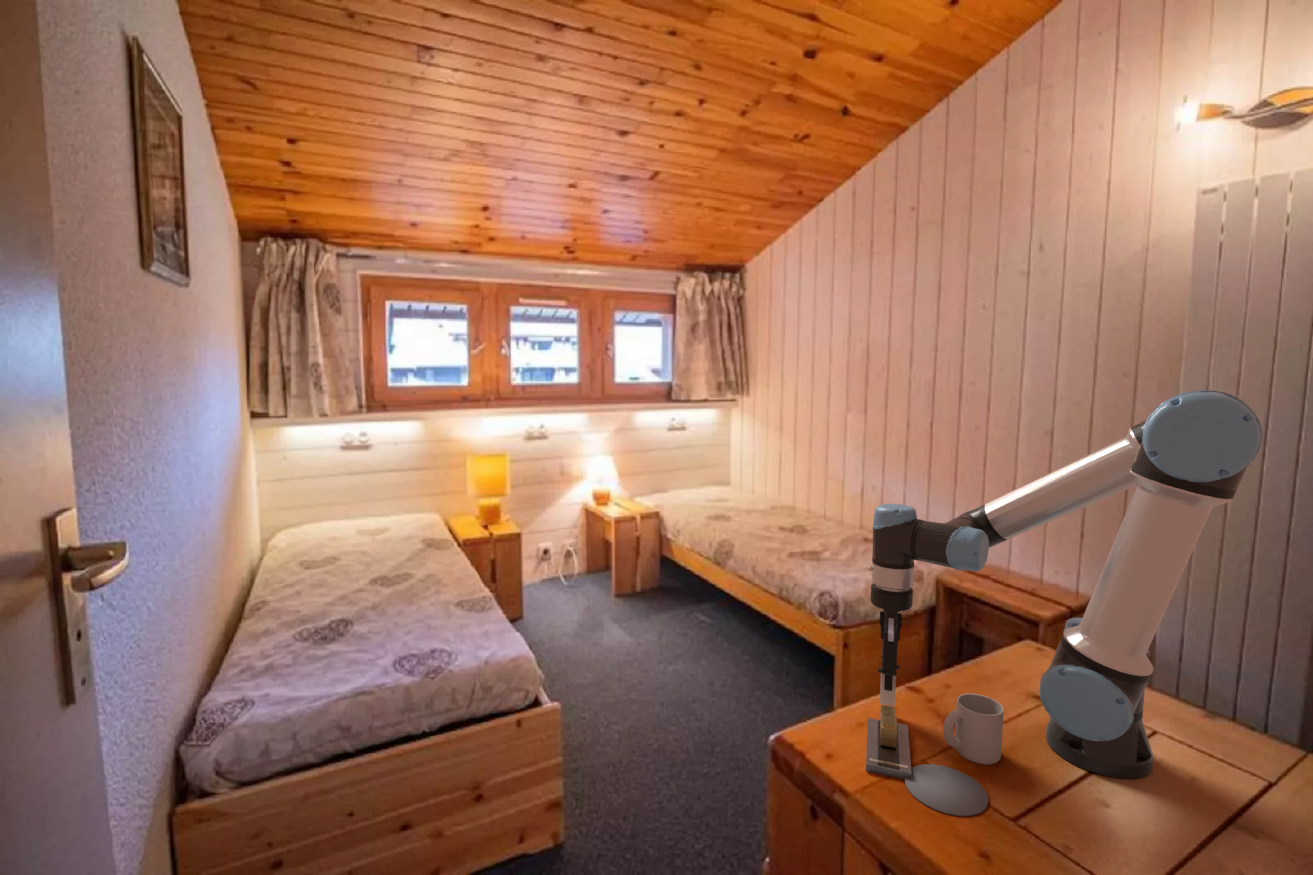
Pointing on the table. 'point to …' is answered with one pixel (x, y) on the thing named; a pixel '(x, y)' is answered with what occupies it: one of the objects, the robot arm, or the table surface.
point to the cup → (976, 728)
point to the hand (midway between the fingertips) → (887, 702)
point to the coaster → (947, 790)
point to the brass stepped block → (888, 726)
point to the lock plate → (888, 752)
